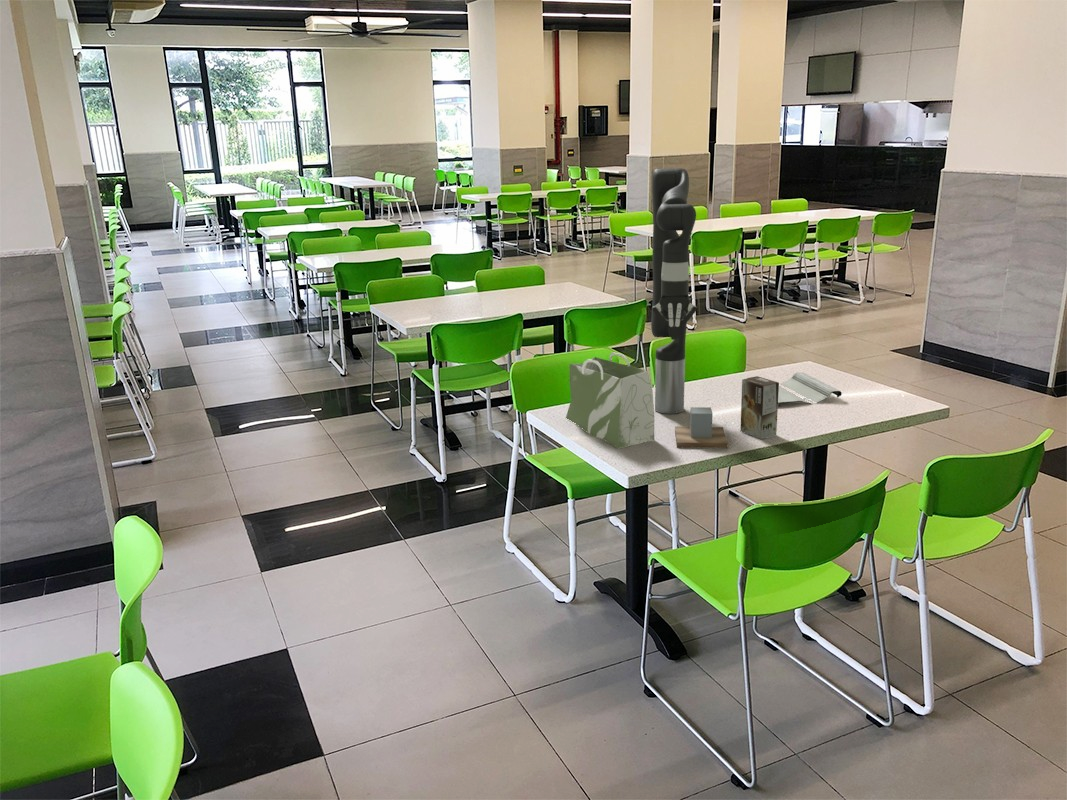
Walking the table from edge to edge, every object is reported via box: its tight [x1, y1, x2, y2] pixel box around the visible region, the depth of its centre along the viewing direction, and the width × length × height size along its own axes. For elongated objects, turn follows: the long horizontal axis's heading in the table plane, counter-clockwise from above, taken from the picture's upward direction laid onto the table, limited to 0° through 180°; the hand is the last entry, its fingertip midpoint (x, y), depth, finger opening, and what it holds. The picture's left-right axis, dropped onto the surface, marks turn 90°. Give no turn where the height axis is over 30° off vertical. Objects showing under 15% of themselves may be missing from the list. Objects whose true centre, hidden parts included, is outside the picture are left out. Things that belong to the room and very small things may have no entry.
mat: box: [778, 371, 843, 405], centre depth 275 cm, size 23×24×5 cm
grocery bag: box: [565, 351, 655, 449], centre depth 245 cm, size 32×14×23 cm, turn 27°
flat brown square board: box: [674, 425, 729, 449], centre depth 235 cm, size 14×14×8 cm
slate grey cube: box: [689, 406, 713, 438], centre depth 235 cm, size 6×6×7 cm
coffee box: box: [739, 375, 780, 440], centre depth 238 cm, size 9×6×16 cm
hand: (673, 339), depth 232 cm, fingers closed
